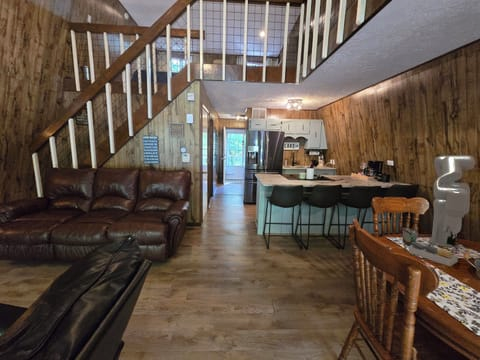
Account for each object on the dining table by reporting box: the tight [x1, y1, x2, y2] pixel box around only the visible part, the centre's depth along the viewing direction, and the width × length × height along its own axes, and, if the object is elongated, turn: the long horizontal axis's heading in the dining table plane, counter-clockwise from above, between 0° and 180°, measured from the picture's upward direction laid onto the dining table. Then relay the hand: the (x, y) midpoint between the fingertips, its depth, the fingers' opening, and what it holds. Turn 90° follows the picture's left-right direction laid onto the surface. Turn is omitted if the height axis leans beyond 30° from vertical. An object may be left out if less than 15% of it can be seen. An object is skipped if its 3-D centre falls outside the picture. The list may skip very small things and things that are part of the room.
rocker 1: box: [411, 241, 425, 249], centre depth 138 cm, size 4×6×2 cm
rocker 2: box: [423, 244, 439, 254], centre depth 132 cm, size 4×6×2 cm
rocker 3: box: [437, 249, 454, 258], centre depth 126 cm, size 4×6×2 cm
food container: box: [402, 227, 419, 247], centre depth 151 cm, size 12×6×10 cm, turn 168°
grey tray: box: [408, 246, 459, 267], centre depth 134 cm, size 10×20×4 cm, turn 30°
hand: (450, 244), depth 124 cm, fingers closed
